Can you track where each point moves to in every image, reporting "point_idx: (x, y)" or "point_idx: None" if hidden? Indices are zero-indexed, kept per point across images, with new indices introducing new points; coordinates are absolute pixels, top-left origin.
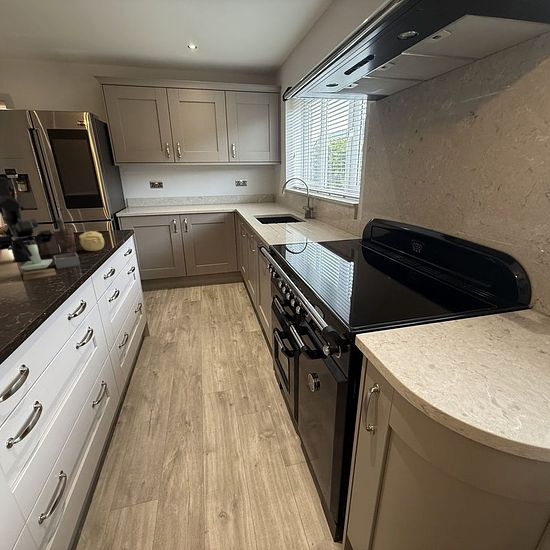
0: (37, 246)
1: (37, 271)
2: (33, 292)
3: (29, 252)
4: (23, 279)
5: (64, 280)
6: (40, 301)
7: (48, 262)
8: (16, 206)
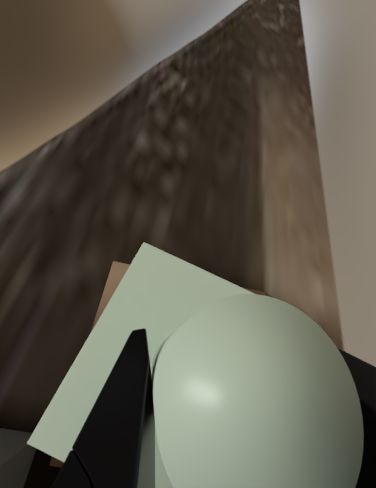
0: (143, 426)
1: None
2: (243, 118)
3: None
4: (266, 292)
5: (124, 155)
6: (236, 51)
7: (112, 304)
8: None
